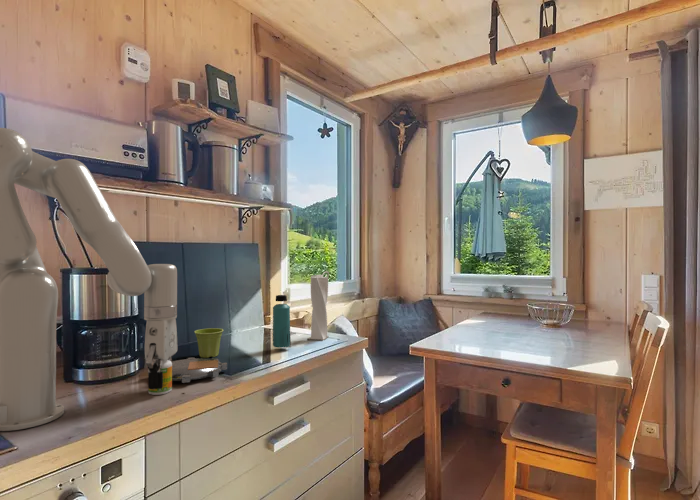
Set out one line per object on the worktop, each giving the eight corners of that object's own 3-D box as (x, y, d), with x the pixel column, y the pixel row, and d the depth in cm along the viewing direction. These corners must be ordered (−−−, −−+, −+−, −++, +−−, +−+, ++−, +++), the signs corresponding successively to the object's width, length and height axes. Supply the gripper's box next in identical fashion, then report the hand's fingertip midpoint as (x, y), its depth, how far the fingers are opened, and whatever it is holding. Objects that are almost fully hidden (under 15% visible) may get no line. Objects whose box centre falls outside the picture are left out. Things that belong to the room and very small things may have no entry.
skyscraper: (331, 337, 171) (331, 271, 172) (326, 341, 163) (326, 271, 164) (312, 336, 173) (313, 270, 174) (306, 340, 165) (306, 271, 166)
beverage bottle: (288, 351, 145) (289, 295, 146) (270, 351, 146) (270, 295, 146) (291, 347, 152) (292, 294, 152) (274, 347, 152) (274, 294, 152)
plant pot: (214, 360, 134) (214, 333, 134) (188, 358, 136) (188, 332, 136) (228, 353, 143) (228, 328, 143) (203, 352, 145) (204, 327, 145)
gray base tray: (227, 378, 110) (227, 354, 110) (141, 386, 104) (142, 360, 104) (226, 359, 130) (226, 339, 130) (154, 365, 124) (154, 343, 124)
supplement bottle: (156, 396, 99) (156, 356, 99) (143, 392, 102) (144, 354, 102) (176, 390, 104) (176, 352, 104) (163, 387, 106) (163, 349, 107)
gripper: (163, 317, 95) (163, 395, 95) (186, 308, 112) (186, 374, 112) (130, 318, 94) (129, 396, 94) (158, 308, 111) (157, 375, 111)
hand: (160, 383), depth 103 cm, fingers closed on supplement bottle, 5 cm apart
